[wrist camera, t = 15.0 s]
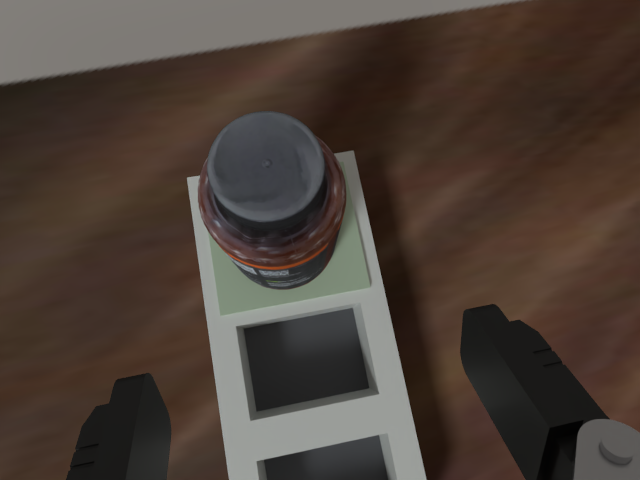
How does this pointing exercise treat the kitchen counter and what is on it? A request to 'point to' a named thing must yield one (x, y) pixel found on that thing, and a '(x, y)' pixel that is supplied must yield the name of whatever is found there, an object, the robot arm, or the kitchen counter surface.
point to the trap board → (309, 362)
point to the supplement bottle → (273, 199)
